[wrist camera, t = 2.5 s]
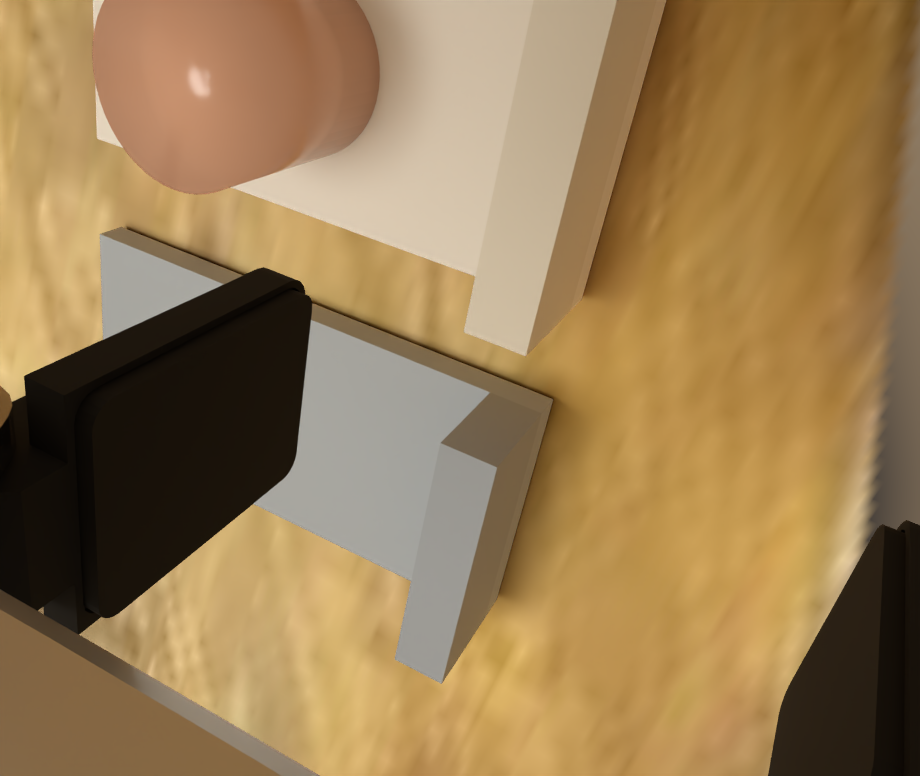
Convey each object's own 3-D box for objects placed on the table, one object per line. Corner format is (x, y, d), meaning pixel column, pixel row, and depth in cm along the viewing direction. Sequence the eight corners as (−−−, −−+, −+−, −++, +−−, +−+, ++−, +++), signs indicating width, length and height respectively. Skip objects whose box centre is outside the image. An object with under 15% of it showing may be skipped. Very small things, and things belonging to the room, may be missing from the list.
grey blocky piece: (121, 226, 37) (18, 260, 32) (553, 399, 31) (497, 467, 27) (124, 420, 42) (36, 471, 38) (496, 599, 36) (441, 684, 32)
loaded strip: (115, -156, 30) (-18, -177, 25) (673, -24, 24) (622, -22, 20) (120, 133, 35) (10, 156, 30) (581, 299, 29) (525, 356, 25)
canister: (232, -55, 28) (88, -60, 23) (392, -12, 26) (274, -8, 21) (223, 130, 31) (95, 160, 26) (366, 179, 29) (258, 221, 24)
